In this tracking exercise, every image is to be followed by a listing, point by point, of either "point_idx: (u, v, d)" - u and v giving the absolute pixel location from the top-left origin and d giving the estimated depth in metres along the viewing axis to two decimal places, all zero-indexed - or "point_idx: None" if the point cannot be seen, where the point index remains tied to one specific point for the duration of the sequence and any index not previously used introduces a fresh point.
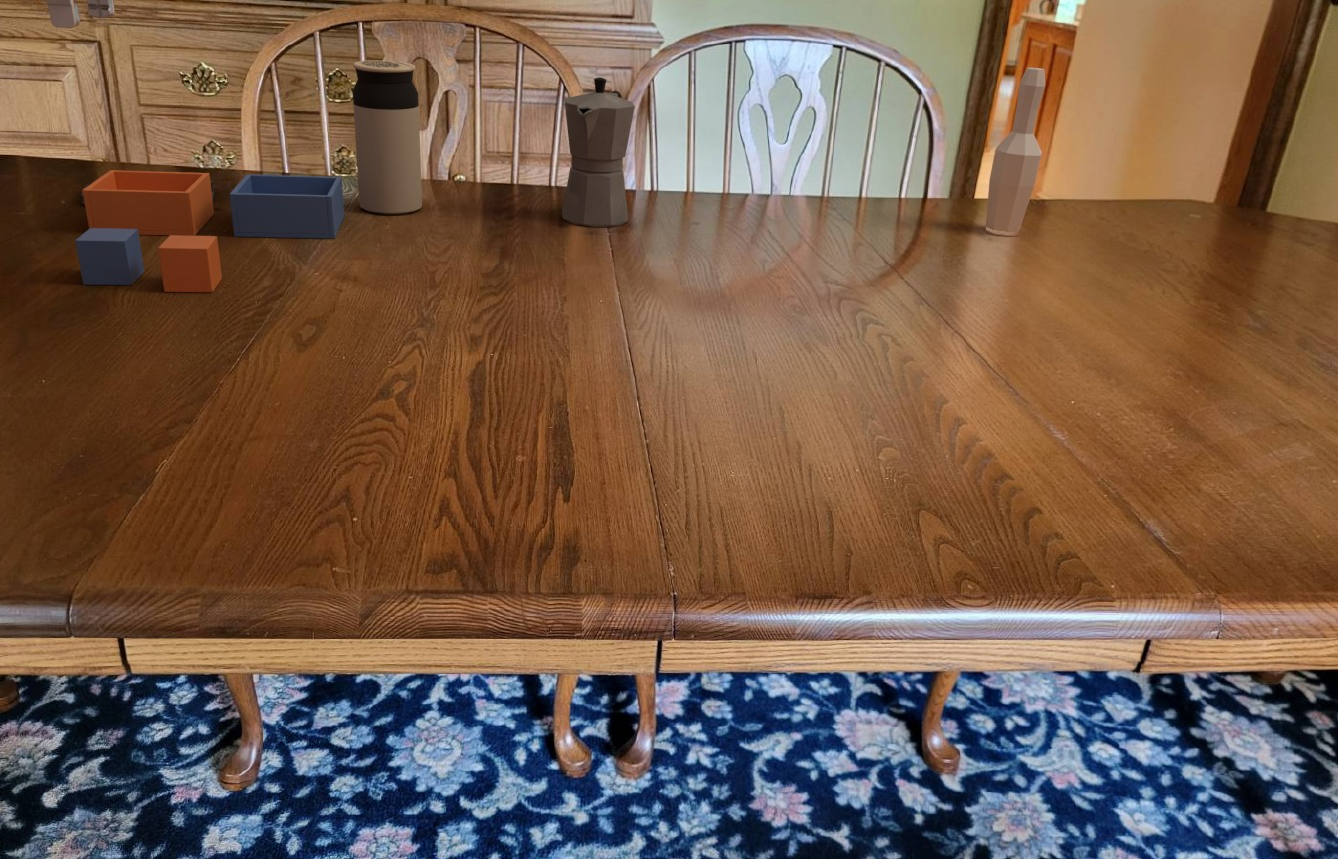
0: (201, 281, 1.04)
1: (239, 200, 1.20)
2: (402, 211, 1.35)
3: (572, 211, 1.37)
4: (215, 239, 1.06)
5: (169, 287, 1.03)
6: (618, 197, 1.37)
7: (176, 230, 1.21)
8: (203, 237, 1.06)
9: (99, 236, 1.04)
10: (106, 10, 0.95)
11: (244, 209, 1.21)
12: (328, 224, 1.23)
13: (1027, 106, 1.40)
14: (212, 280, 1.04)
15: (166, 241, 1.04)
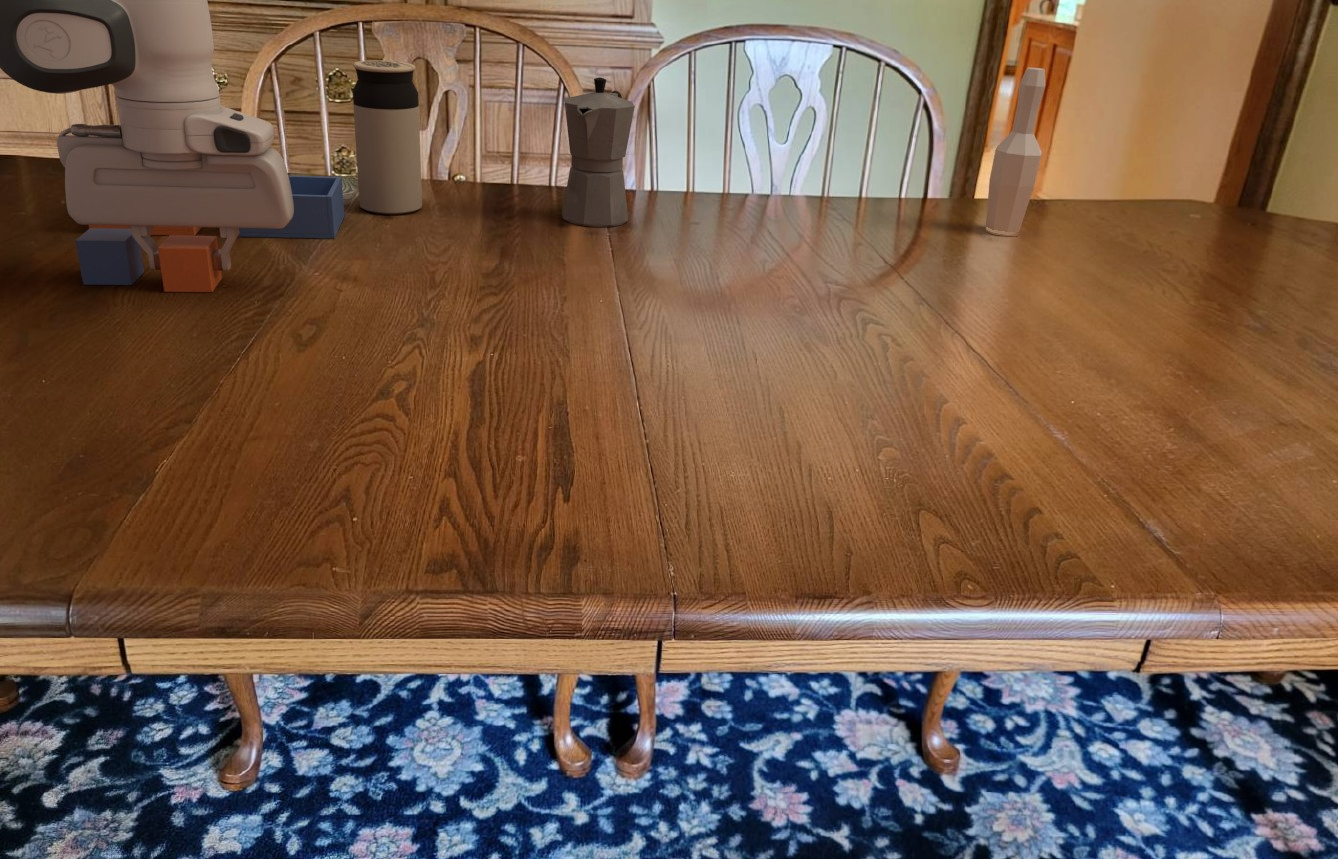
0: (201, 281, 1.04)
1: None
2: (402, 211, 1.35)
3: (572, 211, 1.37)
4: (215, 239, 1.06)
5: (169, 287, 1.03)
6: (618, 197, 1.37)
7: (176, 230, 1.21)
8: (203, 237, 1.06)
9: (99, 236, 1.04)
10: None
11: None
12: (328, 224, 1.23)
13: (1027, 106, 1.40)
14: (212, 280, 1.04)
15: (166, 241, 1.04)
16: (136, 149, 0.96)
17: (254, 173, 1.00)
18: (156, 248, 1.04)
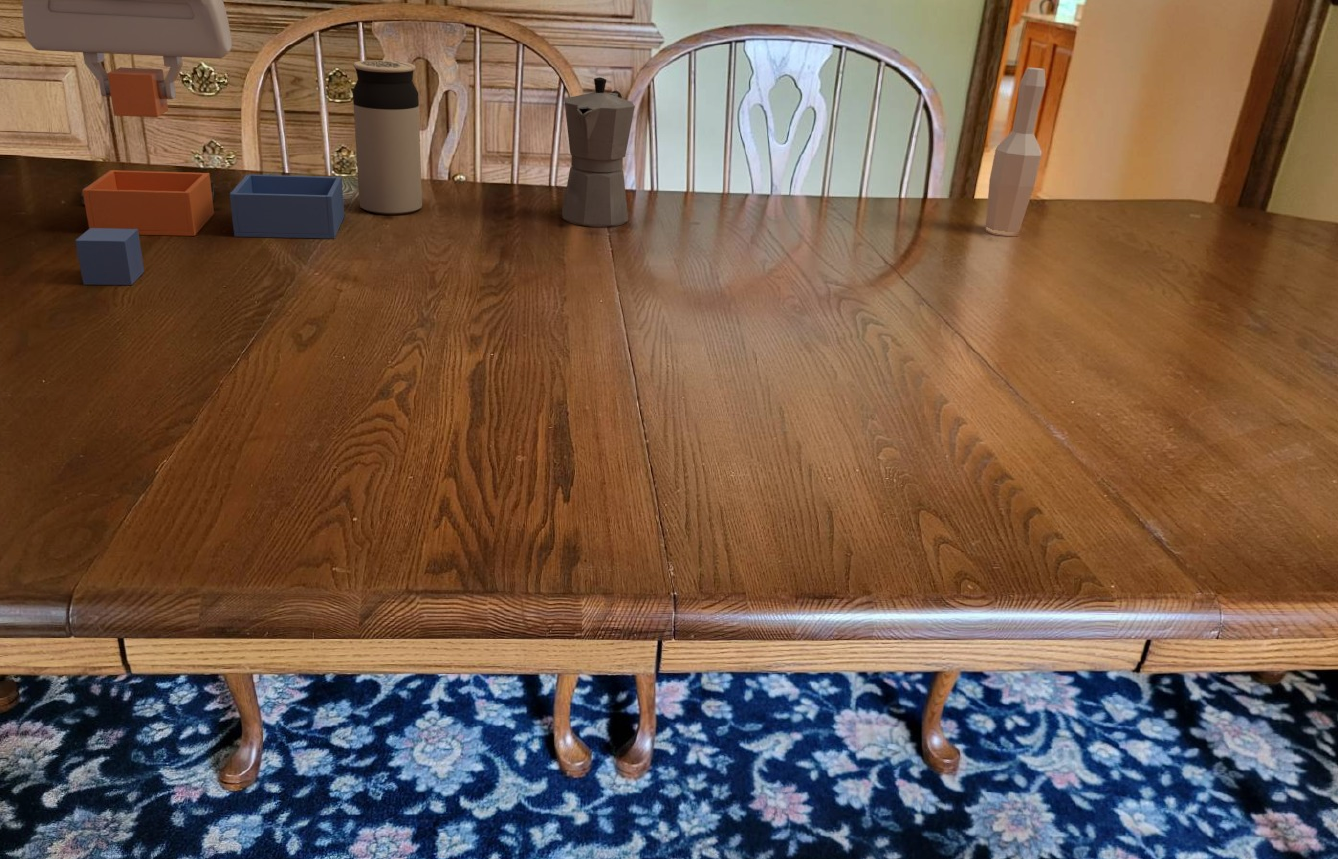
0: (147, 106, 1.15)
1: (239, 200, 1.20)
2: (402, 211, 1.35)
3: (572, 211, 1.37)
4: (160, 71, 1.17)
5: (118, 111, 1.15)
6: (618, 197, 1.37)
7: (176, 230, 1.21)
8: (150, 69, 1.17)
9: (99, 236, 1.04)
10: None
11: (244, 209, 1.21)
12: (328, 224, 1.23)
13: (1027, 106, 1.40)
14: (157, 106, 1.16)
15: (115, 70, 1.15)
16: None
17: (193, 4, 1.12)
18: (107, 77, 1.15)
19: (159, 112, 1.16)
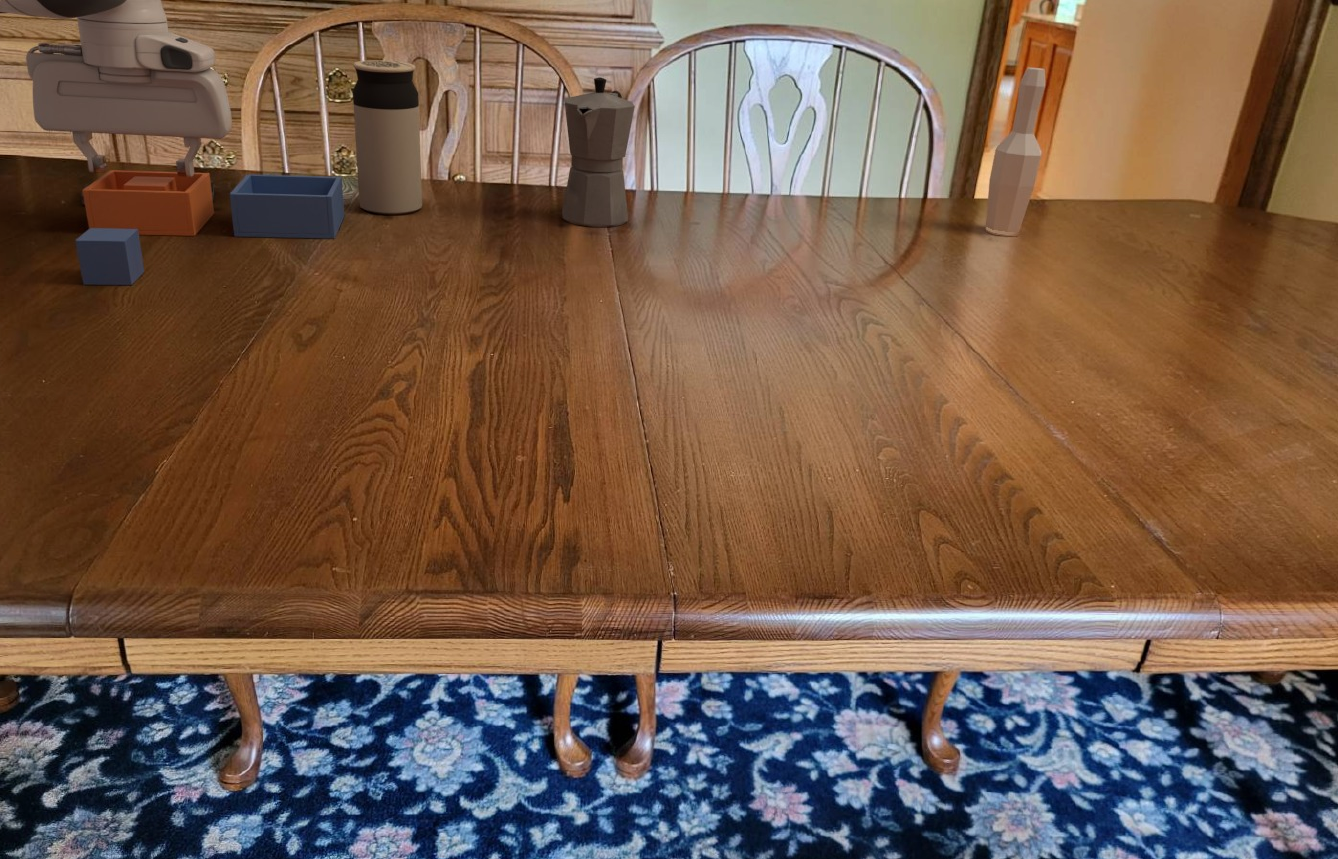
0: None
1: (239, 200, 1.20)
2: (402, 211, 1.35)
3: (572, 211, 1.37)
4: (173, 180, 1.24)
5: None
6: (618, 197, 1.37)
7: (176, 230, 1.21)
8: (163, 178, 1.24)
9: (99, 236, 1.04)
10: (106, 165, 1.21)
11: (244, 209, 1.21)
12: (328, 224, 1.23)
13: (1027, 106, 1.40)
14: None
15: (131, 180, 1.22)
16: (93, 63, 1.13)
17: (196, 89, 1.17)
18: (95, 154, 1.20)
19: None
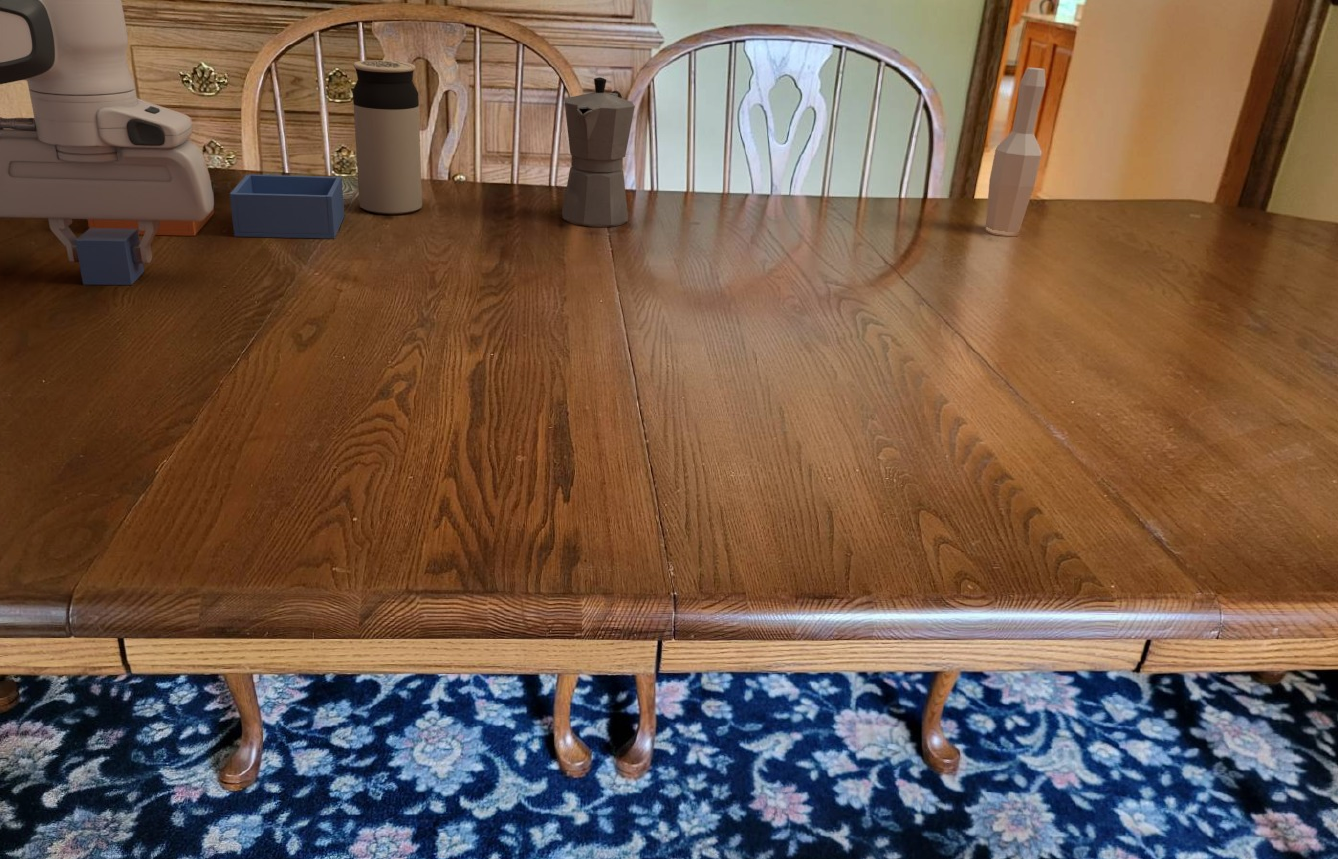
0: None
1: (239, 200, 1.20)
2: (402, 211, 1.35)
3: (572, 211, 1.37)
4: None
5: None
6: (618, 197, 1.37)
7: (176, 230, 1.21)
8: None
9: (98, 236, 1.04)
10: None
11: (244, 209, 1.21)
12: (328, 224, 1.23)
13: (1027, 106, 1.40)
14: None
15: None
16: (49, 142, 0.97)
17: (170, 166, 1.01)
18: None
19: None
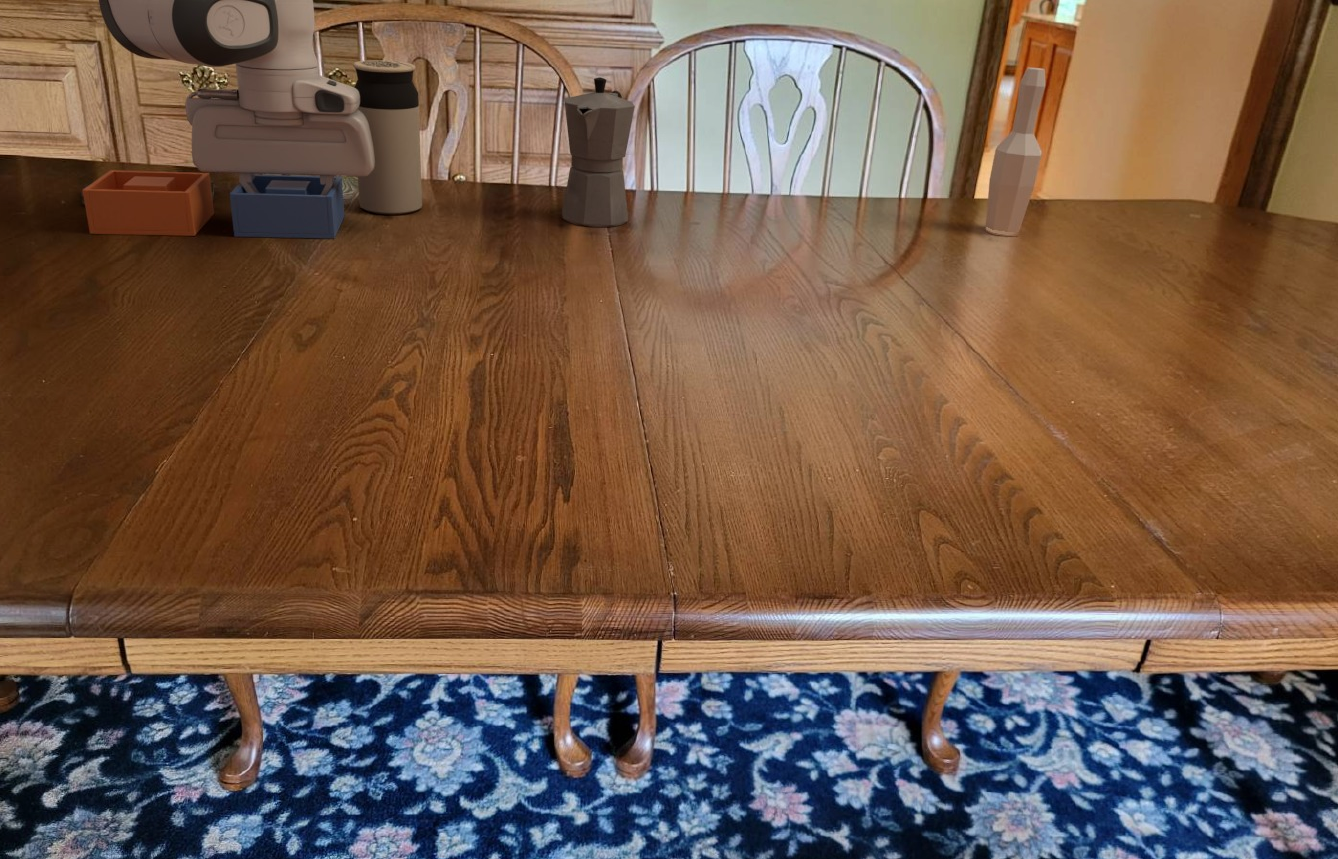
0: None
1: (239, 200, 1.20)
2: (402, 211, 1.35)
3: (572, 211, 1.37)
4: (173, 180, 1.24)
5: None
6: (618, 197, 1.37)
7: (176, 230, 1.21)
8: (163, 178, 1.24)
9: (282, 186, 1.24)
10: None
11: (244, 209, 1.21)
12: (328, 224, 1.23)
13: (1027, 106, 1.40)
14: None
15: (131, 180, 1.22)
16: (252, 108, 1.18)
17: (345, 129, 1.22)
18: None
19: None
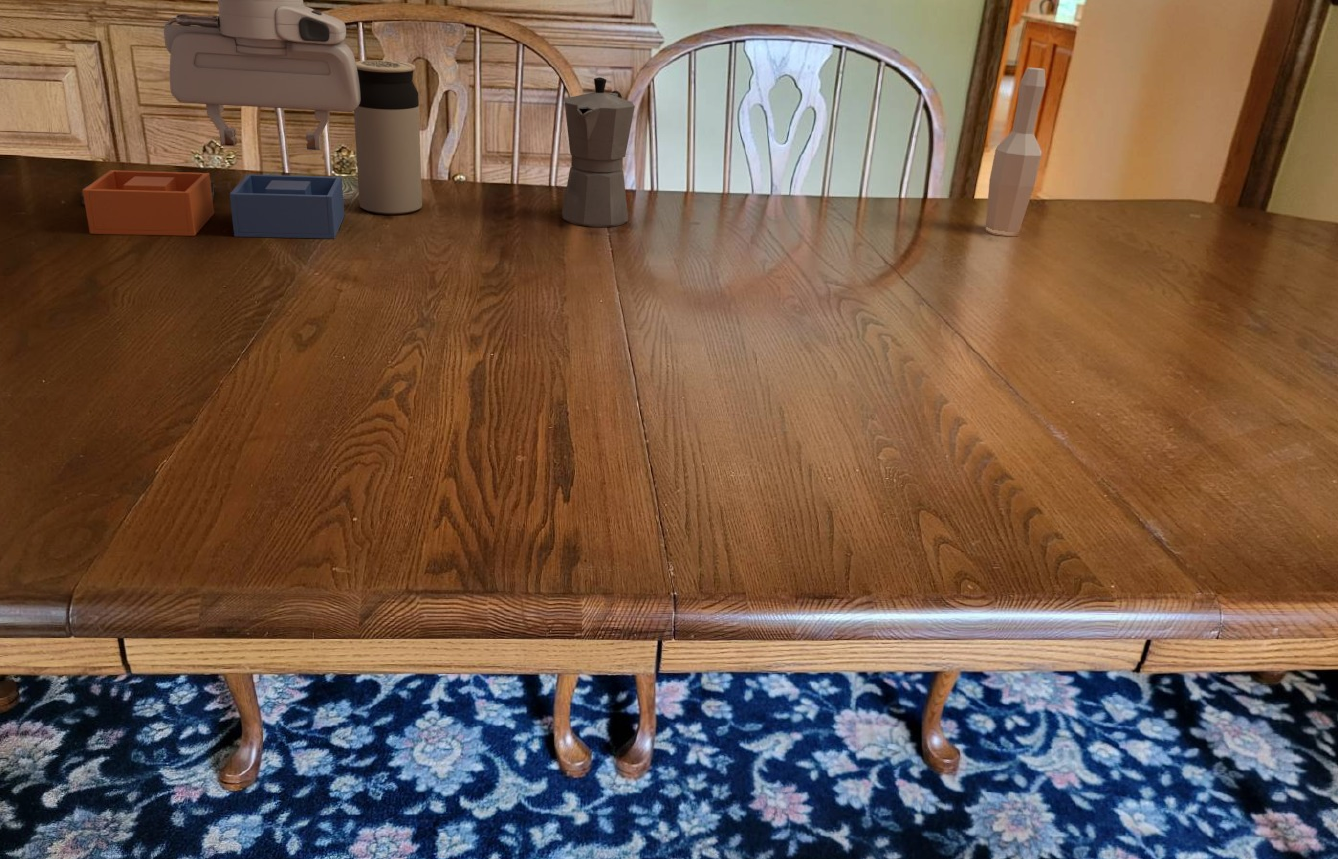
0: None
1: (239, 200, 1.20)
2: (402, 211, 1.35)
3: (572, 211, 1.37)
4: (173, 180, 1.24)
5: None
6: (618, 197, 1.37)
7: (176, 230, 1.21)
8: (163, 178, 1.24)
9: (282, 186, 1.24)
10: (235, 138, 1.22)
11: (244, 209, 1.21)
12: (328, 224, 1.23)
13: (1027, 106, 1.40)
14: None
15: (131, 180, 1.22)
16: (233, 35, 1.13)
17: (330, 61, 1.18)
18: (226, 127, 1.21)
19: None
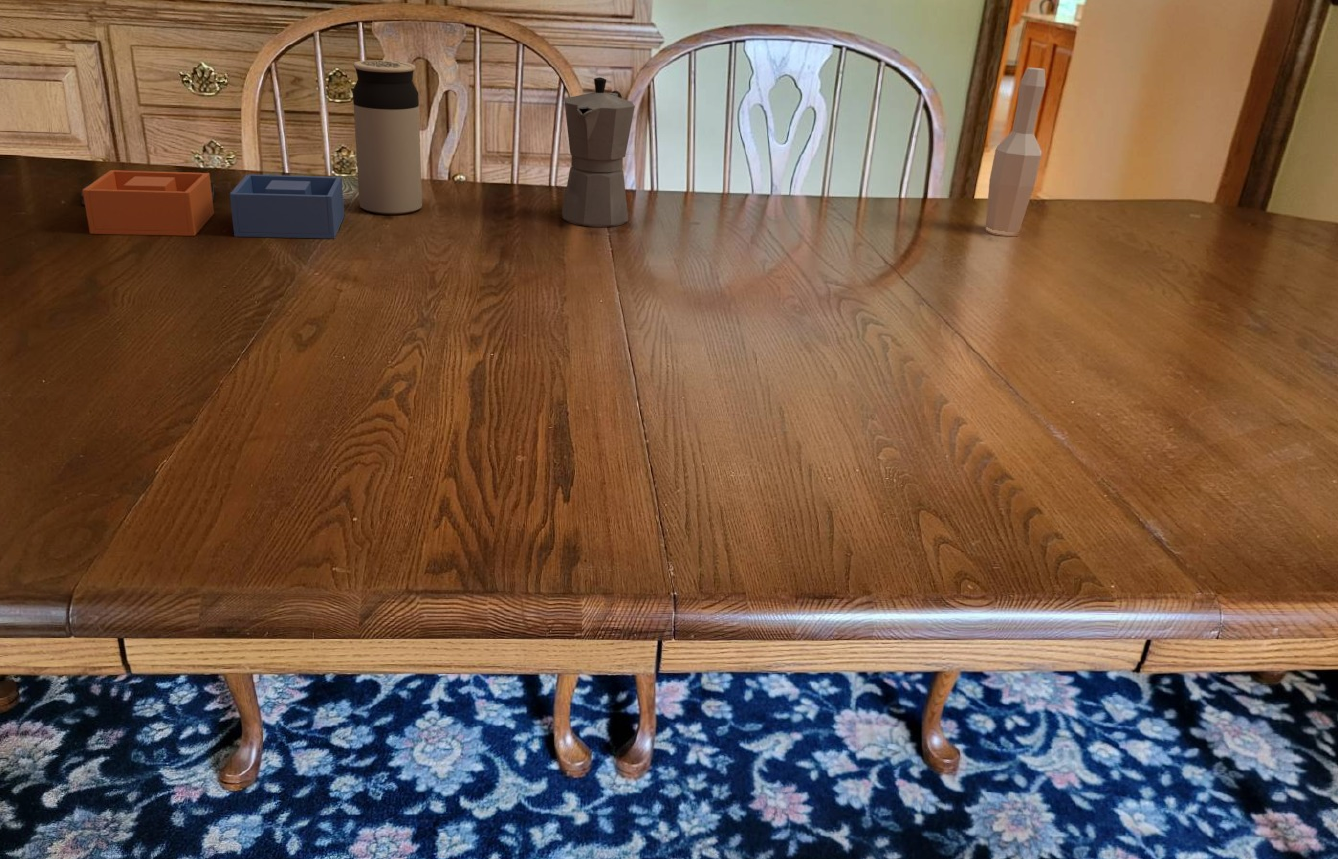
0: None
1: (239, 200, 1.20)
2: (402, 211, 1.35)
3: (572, 211, 1.37)
4: (173, 180, 1.24)
5: None
6: (618, 197, 1.37)
7: (176, 230, 1.21)
8: (163, 178, 1.24)
9: (282, 186, 1.24)
10: None
11: (244, 209, 1.21)
12: (328, 224, 1.23)
13: (1027, 106, 1.40)
14: None
15: (131, 180, 1.22)
16: None
17: None
18: None
19: None
